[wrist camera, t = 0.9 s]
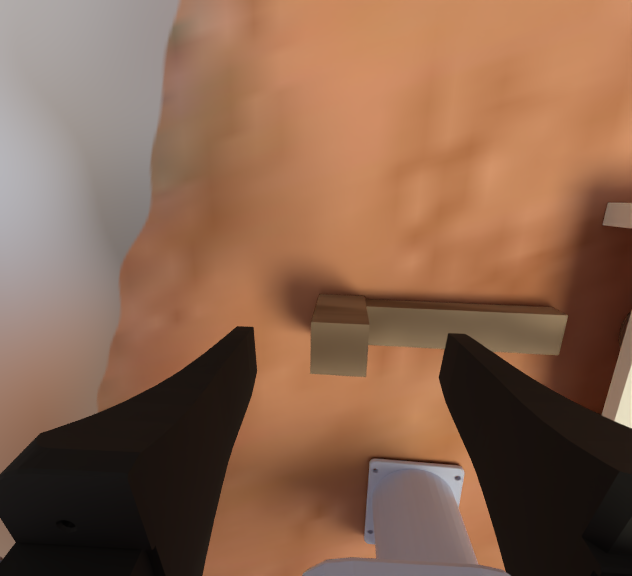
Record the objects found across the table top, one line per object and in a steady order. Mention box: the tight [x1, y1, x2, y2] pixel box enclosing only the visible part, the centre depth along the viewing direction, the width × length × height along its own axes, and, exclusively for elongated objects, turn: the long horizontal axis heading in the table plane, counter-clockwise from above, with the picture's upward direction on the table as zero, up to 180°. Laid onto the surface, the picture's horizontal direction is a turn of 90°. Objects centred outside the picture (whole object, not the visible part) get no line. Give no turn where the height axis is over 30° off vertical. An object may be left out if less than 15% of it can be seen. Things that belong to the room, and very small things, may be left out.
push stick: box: [310, 294, 568, 377], centre depth 23 cm, size 4×17×6 cm, turn 89°
